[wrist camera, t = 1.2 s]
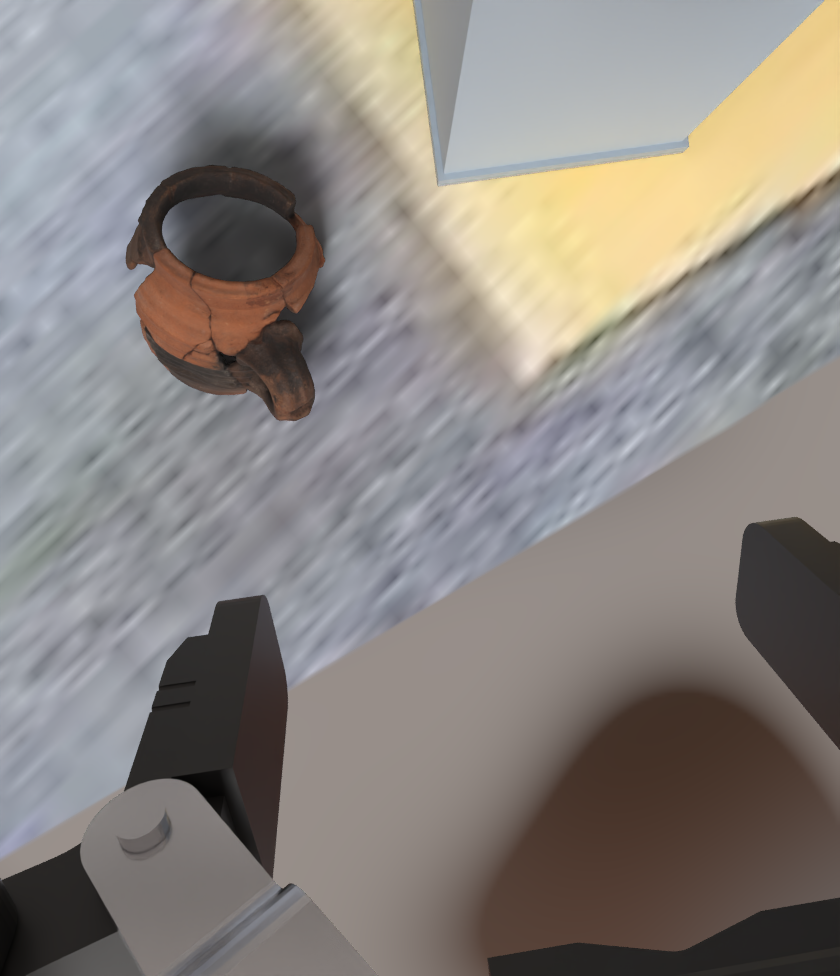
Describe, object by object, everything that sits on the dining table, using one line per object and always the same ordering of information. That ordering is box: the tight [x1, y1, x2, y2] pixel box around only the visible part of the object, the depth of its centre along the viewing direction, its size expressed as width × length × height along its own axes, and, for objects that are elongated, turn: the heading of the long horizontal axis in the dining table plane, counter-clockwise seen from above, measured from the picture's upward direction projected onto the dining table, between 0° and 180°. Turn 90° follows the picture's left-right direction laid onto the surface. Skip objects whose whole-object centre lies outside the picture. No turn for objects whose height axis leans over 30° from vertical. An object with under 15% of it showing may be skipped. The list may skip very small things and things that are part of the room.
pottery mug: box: [126, 165, 325, 421], centre depth 34 cm, size 12×10×8 cm
